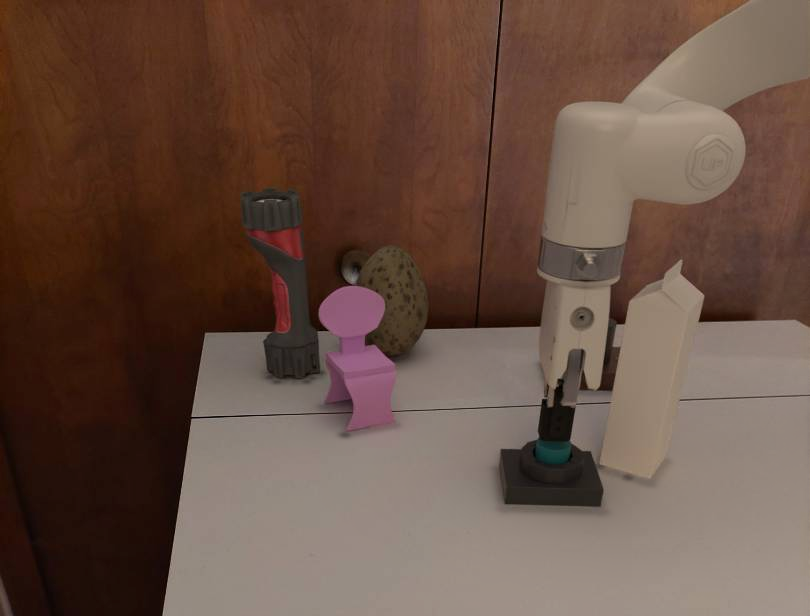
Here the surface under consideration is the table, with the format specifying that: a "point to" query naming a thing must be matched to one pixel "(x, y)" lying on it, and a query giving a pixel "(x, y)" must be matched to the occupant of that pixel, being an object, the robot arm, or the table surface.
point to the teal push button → (553, 451)
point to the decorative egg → (395, 299)
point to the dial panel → (606, 372)
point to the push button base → (549, 478)
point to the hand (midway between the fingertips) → (553, 437)
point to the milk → (651, 373)
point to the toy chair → (358, 356)
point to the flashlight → (283, 278)
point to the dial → (609, 340)
